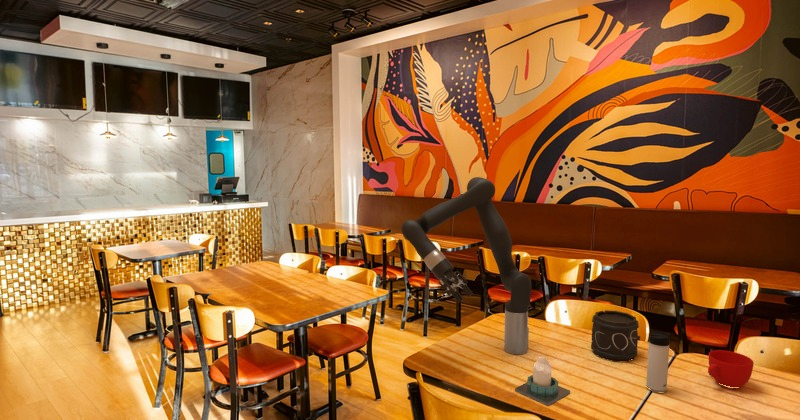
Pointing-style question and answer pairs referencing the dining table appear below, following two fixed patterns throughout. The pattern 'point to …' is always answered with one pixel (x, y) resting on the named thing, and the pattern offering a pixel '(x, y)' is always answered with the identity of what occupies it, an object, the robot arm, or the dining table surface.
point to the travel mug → (658, 361)
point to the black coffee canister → (615, 335)
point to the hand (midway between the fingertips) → (466, 298)
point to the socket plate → (543, 399)
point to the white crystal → (542, 372)
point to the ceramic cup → (730, 368)
